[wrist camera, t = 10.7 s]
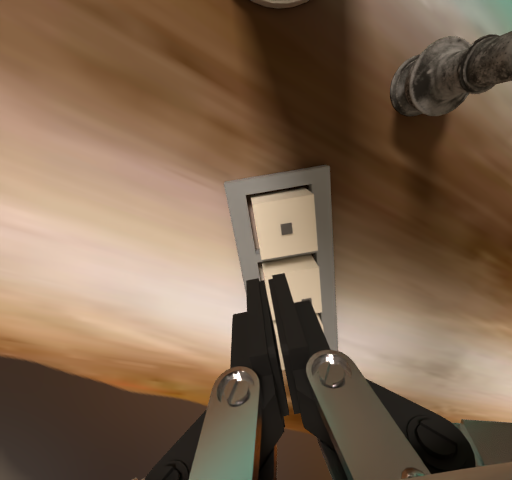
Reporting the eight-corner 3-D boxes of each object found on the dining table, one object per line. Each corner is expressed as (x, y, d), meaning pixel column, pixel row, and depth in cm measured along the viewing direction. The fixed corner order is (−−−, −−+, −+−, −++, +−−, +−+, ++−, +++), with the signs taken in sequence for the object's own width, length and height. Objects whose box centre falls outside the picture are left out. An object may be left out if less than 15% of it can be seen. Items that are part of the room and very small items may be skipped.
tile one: (250, 196, 28) (252, 205, 24) (303, 187, 28) (314, 194, 24) (258, 245, 30) (261, 260, 26) (308, 237, 30) (318, 251, 26)
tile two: (261, 260, 31) (264, 277, 27) (309, 252, 31) (319, 268, 27) (267, 300, 33) (271, 321, 29) (312, 293, 33) (322, 313, 29)
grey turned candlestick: (457, 80, 25) (635, 29, 14) (412, 131, 26) (539, 124, 15) (420, 35, 23) (587, -64, 12) (374, 92, 25) (485, 51, 14)
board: (260, 359, 37) (261, 368, 35) (224, 181, 27) (223, 183, 26) (334, 347, 37) (338, 355, 35) (325, 164, 27) (329, 166, 26)
